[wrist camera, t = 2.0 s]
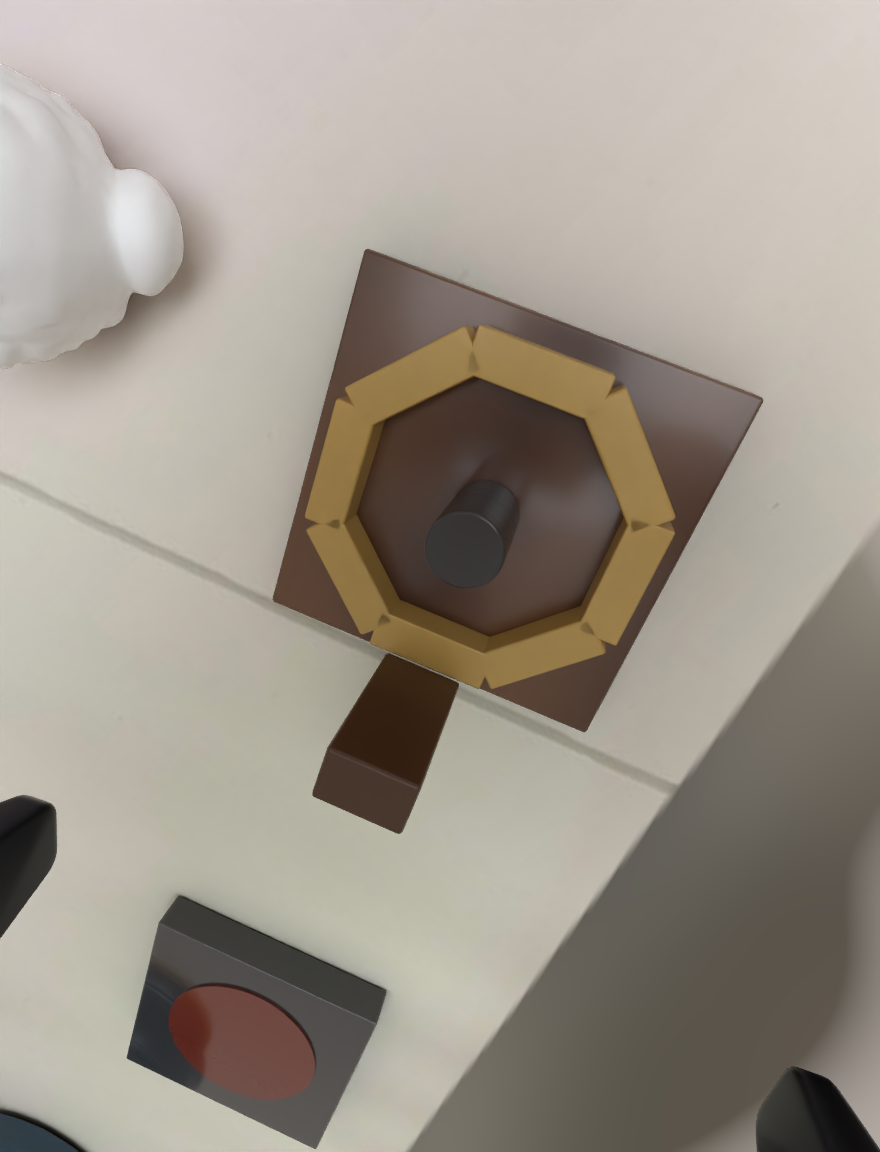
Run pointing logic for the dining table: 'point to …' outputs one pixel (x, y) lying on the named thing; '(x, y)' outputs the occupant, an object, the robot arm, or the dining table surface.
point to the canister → (28, 1137)
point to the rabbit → (71, 227)
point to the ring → (409, 692)
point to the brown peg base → (506, 478)
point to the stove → (251, 1021)
